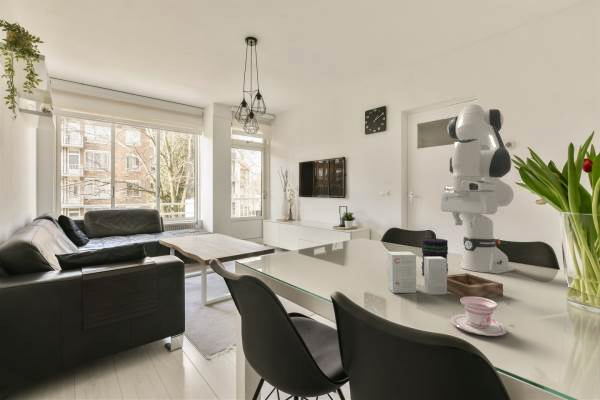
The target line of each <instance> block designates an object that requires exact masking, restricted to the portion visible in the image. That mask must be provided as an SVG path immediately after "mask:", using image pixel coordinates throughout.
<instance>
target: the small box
mask: <svg viewBox="0 0 600 400" xmlns="http://www.w3.org/2000/svg"><path fill="white" fill-rule="evenodd" d="M387 288H388V289H389V290H390V291H391V292H392V293H393V294H394V293H395V294H396V293H397V294H399V293H401V294H402V293H403V294H404V293H405V294H406V293H407V294H414V293H415V294H416V293H417V254H415V253H414V252H411V251H387Z"/></svg>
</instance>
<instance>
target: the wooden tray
mask: <svg viewBox="0 0 600 400" xmlns="http://www.w3.org/2000/svg"><path fill="white" fill-rule="evenodd" d="M447 293H449V294H453V295H455V296H456V297H457V296H458V297H460V298H463V297H481V298H486V299H490V298H498V297H503V296H504V284H503V283H502V282H498V281H495V280H491V279H487V278H484V277H481V276H477V275H473V274H471V273H467V272H466V273H457V274H447Z"/></svg>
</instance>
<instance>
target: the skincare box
mask: <svg viewBox="0 0 600 400" xmlns="http://www.w3.org/2000/svg"><path fill="white" fill-rule="evenodd" d="M447 264H448V258H447V259H445V258H443V257H440V256H439V257H424V276H423V285H424V286H423V288H424V289H423V291H424V292H425V293H427V294H428V295H432V296H433V295H448V292H447V275H448V274H447V268H448V267H447Z"/></svg>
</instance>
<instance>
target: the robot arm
mask: <svg viewBox="0 0 600 400" xmlns="http://www.w3.org/2000/svg"><path fill="white" fill-rule="evenodd" d="M503 125H504V115H503V114H502V112H501V110H500V109H497V108H495V109H494V108H491V109H488V110H484V109H483V108H482V106H481V105H478V104H469V105H466V106H464V107H463V108H462V109H461V110H460V112H459V114H458V116H455V117H452V118H451V119H450V120H449V121H448V123H447V133H448V135H449V137H450V138H451V139H452V140H456V141H455V142H454V143H453V146H452V153H451V157H450V158H449V172H450V173H451V174H452V176H451V186H446V187H445V188H443V190H442V195H441V199H440V210H441V212H448V213H452V217H453V219H454V222H455V224H454V225H455V226H463V227H464V237H463V239H462V241H463V246H464V247H463V249H462V257H461V262H460V268H461V269H465V270H467V271H468V270H469V271H472V272H478V273H479V272H481V273H491V274H498V275H499V274H502V273H507V272H513V271H515V270H516V268H515V267H514V266H511V265H509V257H508V256H507V255H506V253H505V252H503V251H501V250H500V248H498V247H497V244H498V245H500V244H501V240H500V239H499V238H498V239H497V238H494V222H493V220H492V219H491V218H489V217H488V216H486V215H495V214H496V213H497V211H498V208H501V207H507V206H508V205H510V204H511V203H512V201H513V200H514V191H513V189H512V187H511V186H510V185H509V184H507V183H506V182H504V181H502V180H501V178H502V177H504V176H506V175H507V174H509V172H511V169H512V163H513V162H512V157H511V155H510V153H509V151H508V150H507V149H506V146H505V144H504V141H503V139H502V136H501V134H500V130H501V129H502V127H503ZM460 215H461V217H460ZM461 218H462V219H463V220H461Z"/></svg>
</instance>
